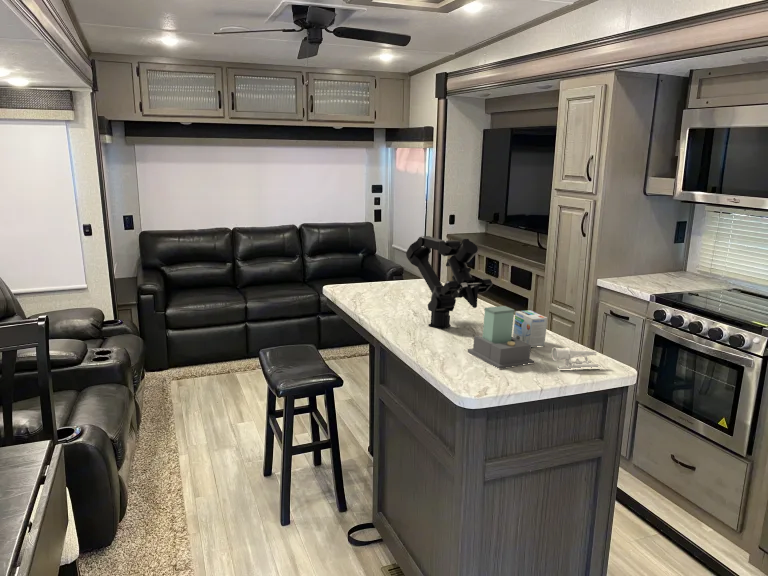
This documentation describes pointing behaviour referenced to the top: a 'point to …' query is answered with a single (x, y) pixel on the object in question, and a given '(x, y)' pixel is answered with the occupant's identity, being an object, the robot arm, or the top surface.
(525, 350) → the switch housing
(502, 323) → the pale green tall block
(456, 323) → the top surface
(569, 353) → the toy cannon
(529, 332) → the light bulb box
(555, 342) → the top surface
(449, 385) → the top surface
